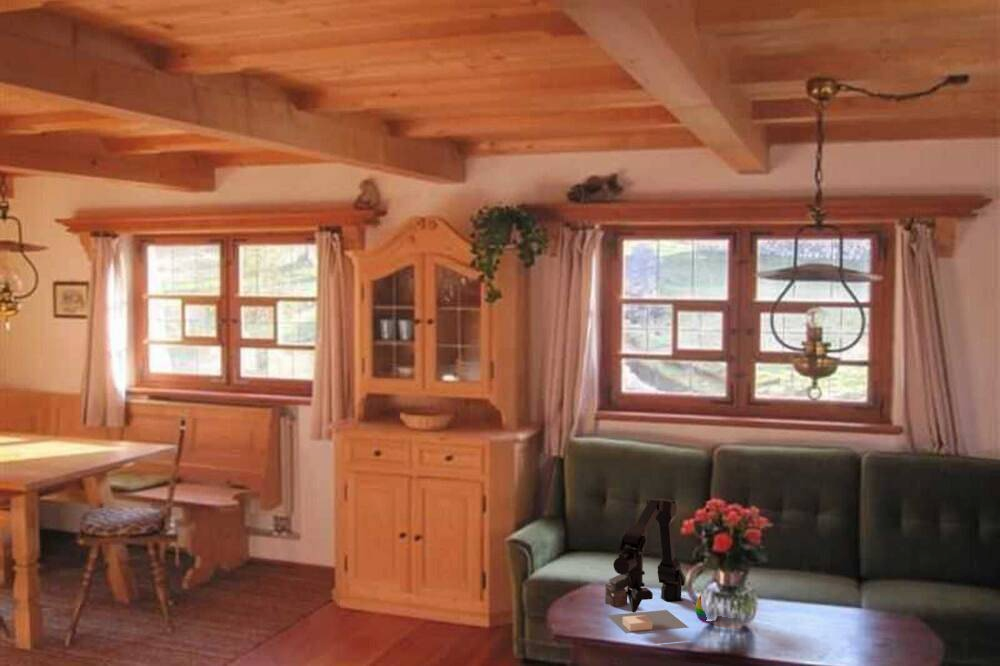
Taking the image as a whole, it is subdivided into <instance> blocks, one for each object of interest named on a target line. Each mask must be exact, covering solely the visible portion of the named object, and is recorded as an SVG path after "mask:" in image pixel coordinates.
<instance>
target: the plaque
mask: <svg viewBox="0 0 1000 666" xmlns="http://www.w3.org/2000/svg"><path fill="white" fill-rule="evenodd" d="M623 625H624V626H625V627H626V628H627V629H629V630H630V631H637V630H648V629H652V621H651V620H650V619H649V618H647V617H646V616H645V615H638V616H626V617H623Z"/></svg>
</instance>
